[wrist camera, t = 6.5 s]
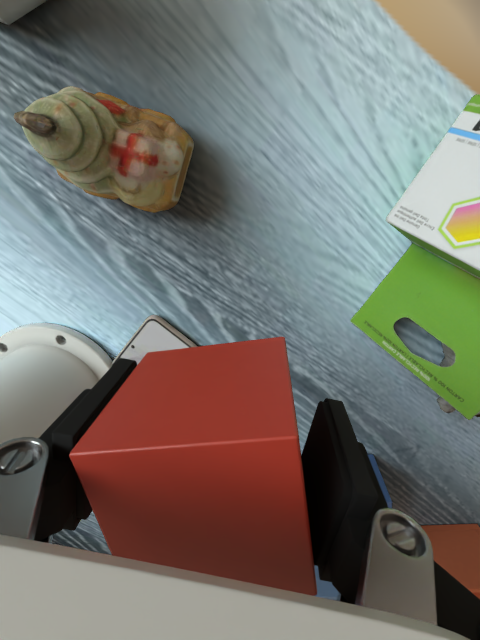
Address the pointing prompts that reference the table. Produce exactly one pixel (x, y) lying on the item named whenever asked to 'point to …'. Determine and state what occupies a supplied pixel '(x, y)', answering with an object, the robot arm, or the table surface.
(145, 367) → the red block
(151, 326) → the smartphone
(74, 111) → the ornament
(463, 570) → the red bin
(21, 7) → the coffee maker
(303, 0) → the table surface
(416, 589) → the robot arm
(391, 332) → the ink box
